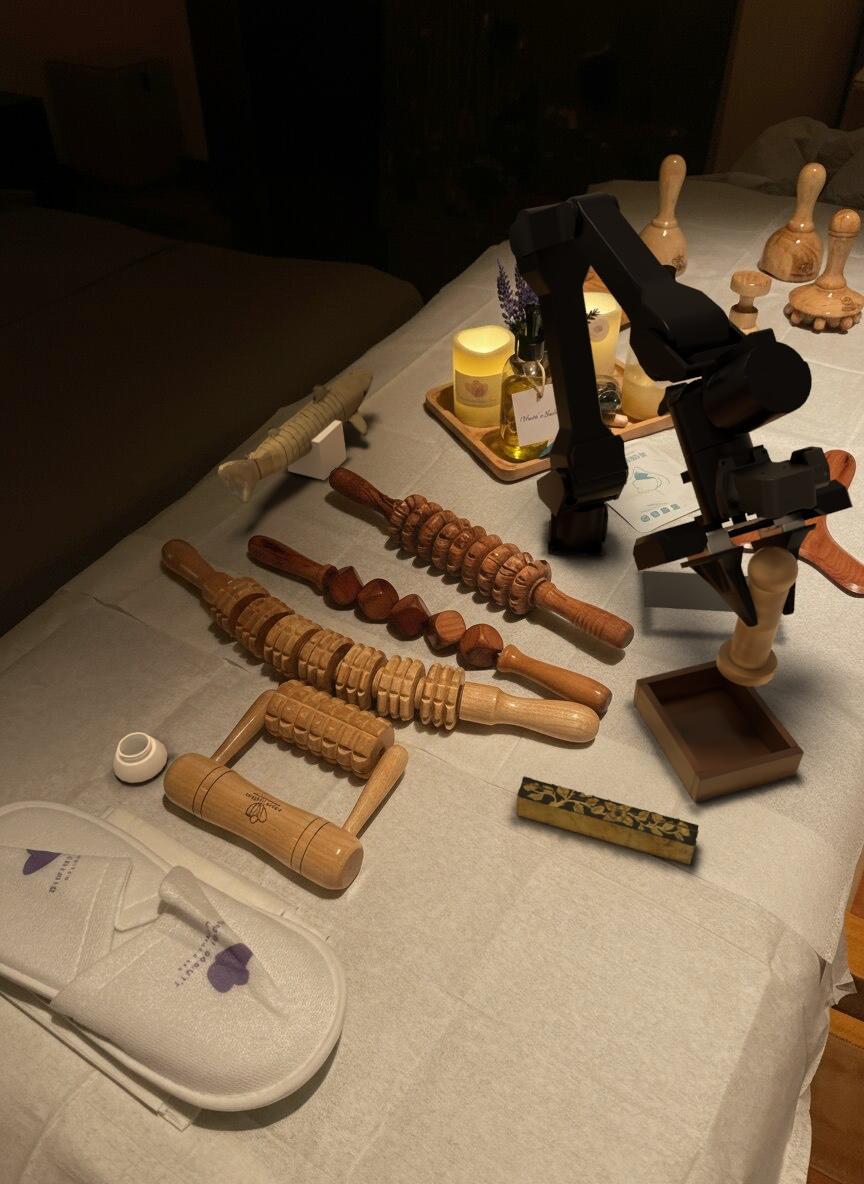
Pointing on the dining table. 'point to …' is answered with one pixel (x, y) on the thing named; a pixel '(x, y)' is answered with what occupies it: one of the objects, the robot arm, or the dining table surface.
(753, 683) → the wooden pestle
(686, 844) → the decorative block
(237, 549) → the dining table surface
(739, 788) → the box
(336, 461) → the wood carving
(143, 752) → the lidless jar
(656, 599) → the mat
